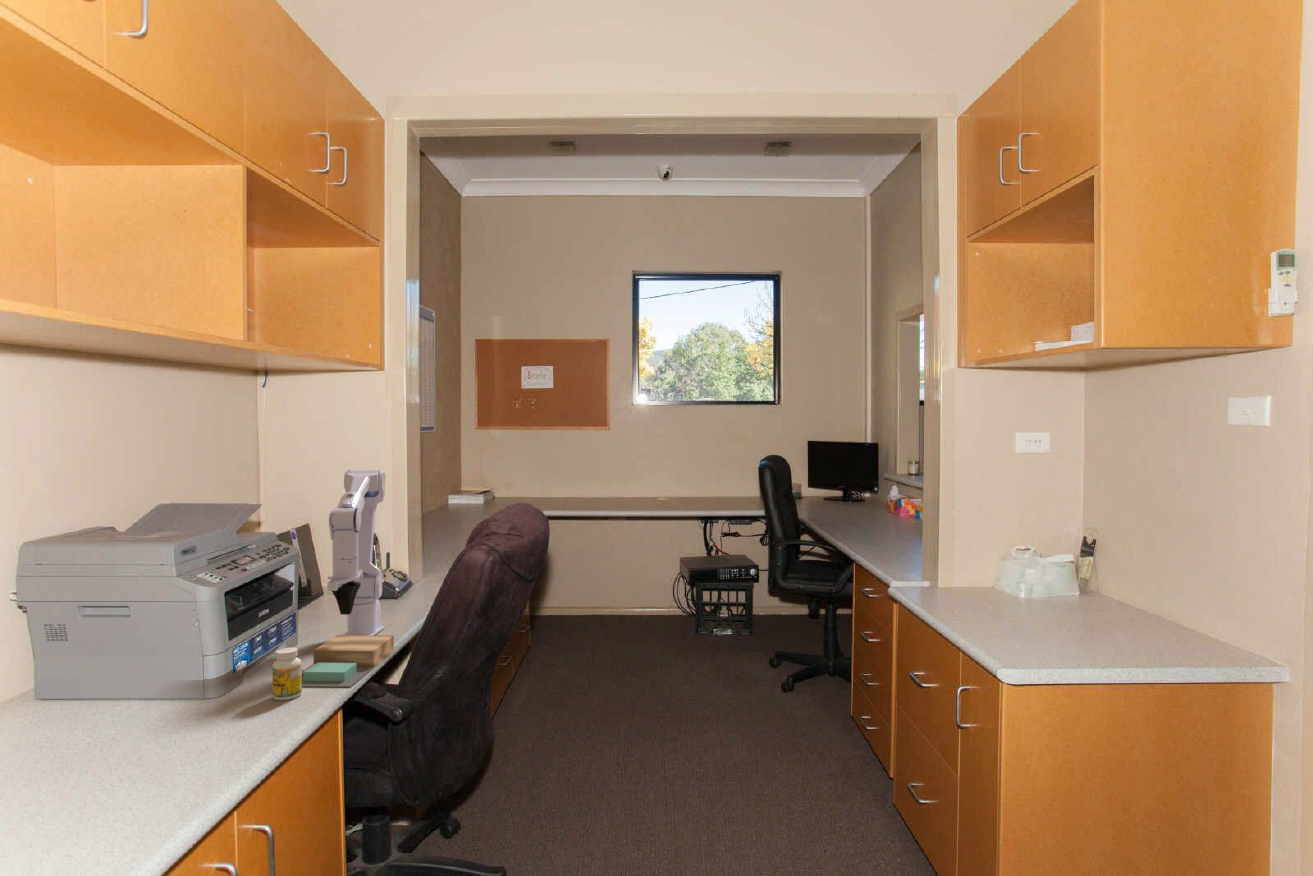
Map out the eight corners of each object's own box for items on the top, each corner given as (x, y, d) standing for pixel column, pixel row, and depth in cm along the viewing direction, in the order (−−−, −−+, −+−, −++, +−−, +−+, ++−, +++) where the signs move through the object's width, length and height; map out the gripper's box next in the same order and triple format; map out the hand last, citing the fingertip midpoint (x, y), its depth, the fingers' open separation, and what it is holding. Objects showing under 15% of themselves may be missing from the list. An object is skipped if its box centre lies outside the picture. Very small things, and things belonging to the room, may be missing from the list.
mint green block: (303, 671, 158) (303, 681, 158) (344, 672, 158) (344, 681, 158) (317, 662, 164) (317, 671, 164) (356, 663, 164) (356, 671, 164)
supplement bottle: (307, 693, 152) (307, 648, 152) (285, 702, 147) (285, 655, 147) (289, 689, 154) (288, 645, 154) (266, 698, 149) (266, 652, 149)
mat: (313, 667, 168) (313, 666, 168) (373, 668, 167) (373, 667, 167) (285, 687, 156) (285, 685, 156) (350, 687, 155) (350, 686, 155)
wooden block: (337, 651, 180) (337, 635, 180) (393, 651, 179) (393, 635, 179) (313, 667, 168) (313, 650, 168) (373, 668, 167) (373, 651, 167)
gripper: (342, 552, 182) (343, 605, 183) (314, 563, 168) (314, 622, 168) (370, 552, 182) (371, 606, 183) (344, 563, 168) (344, 622, 168)
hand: (346, 613), depth 175 cm, fingers closed
